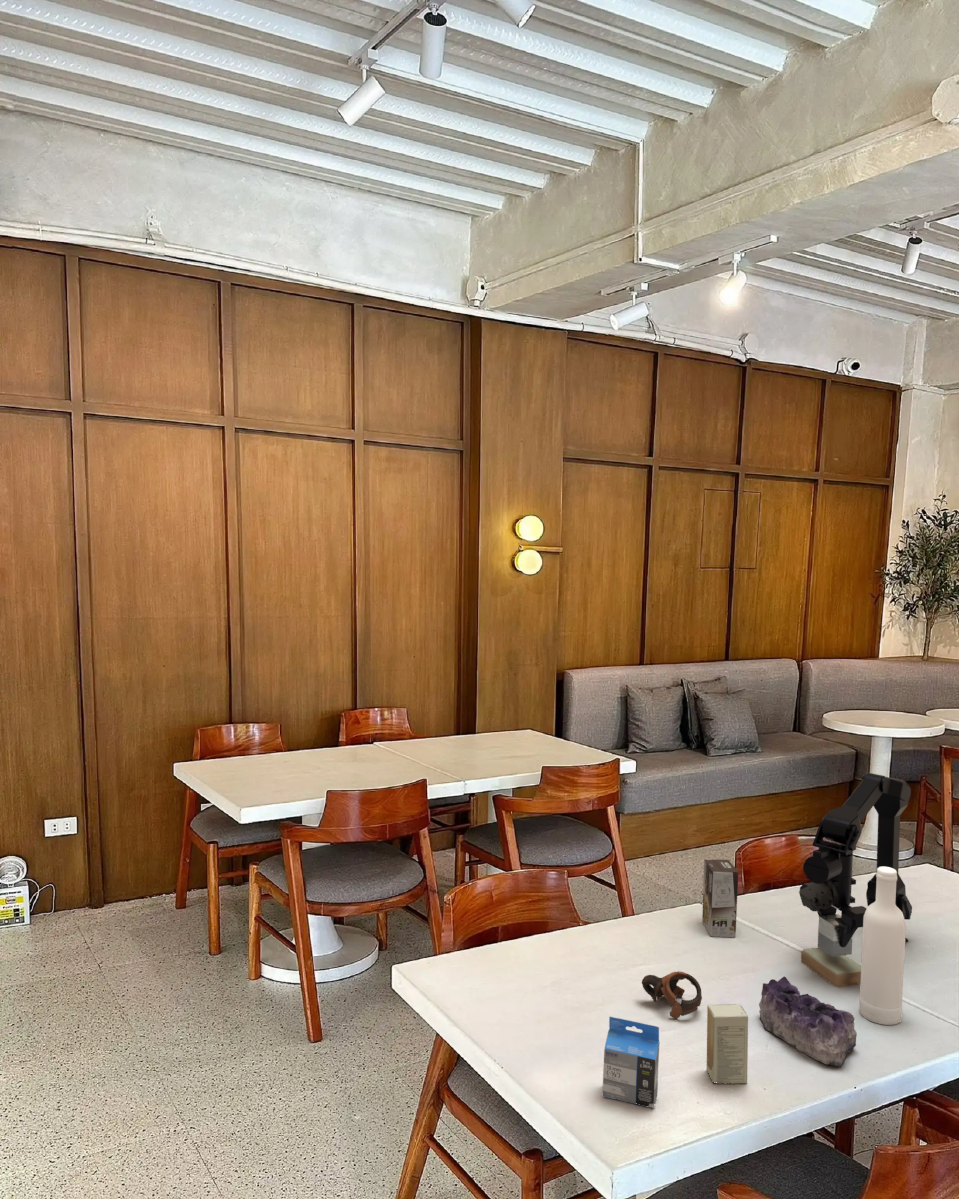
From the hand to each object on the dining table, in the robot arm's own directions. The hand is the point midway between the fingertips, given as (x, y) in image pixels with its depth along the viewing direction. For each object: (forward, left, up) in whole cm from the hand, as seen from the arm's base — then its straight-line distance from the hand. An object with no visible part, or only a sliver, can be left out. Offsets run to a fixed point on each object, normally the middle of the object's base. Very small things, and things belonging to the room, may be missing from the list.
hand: (834, 941), depth 196 cm
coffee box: (+13, -26, -7) cm, 30 cm away
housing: (0, 0, -2) cm, 2 cm away
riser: (0, 0, -7) cm, 7 cm away
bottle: (+3, +18, -7) cm, 20 cm away
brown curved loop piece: (+43, +5, -7) cm, 44 cm away
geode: (+24, +22, -7) cm, 33 cm away
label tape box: (+64, +30, -7) cm, 71 cm away
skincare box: (+45, +29, -7) cm, 54 cm away
